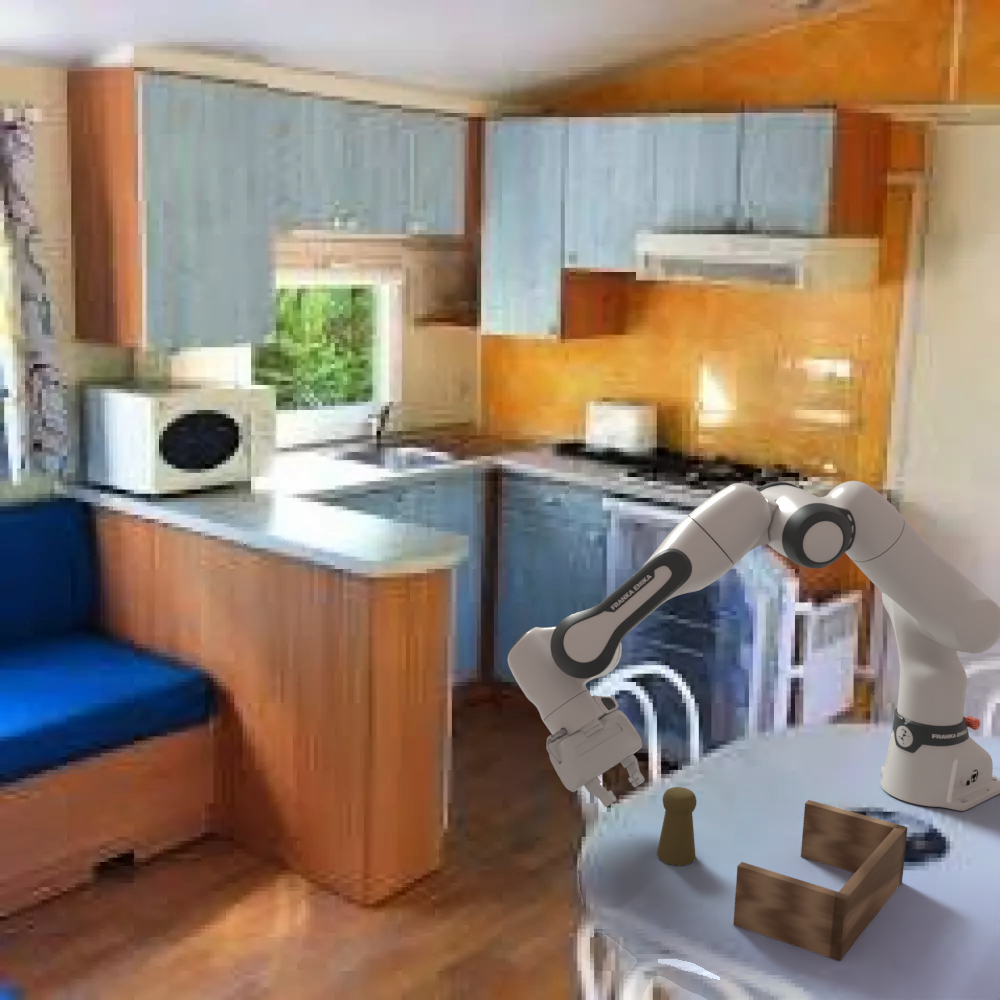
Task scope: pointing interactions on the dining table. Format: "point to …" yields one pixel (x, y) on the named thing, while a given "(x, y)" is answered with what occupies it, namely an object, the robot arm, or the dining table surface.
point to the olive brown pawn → (677, 827)
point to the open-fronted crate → (814, 909)
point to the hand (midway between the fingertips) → (626, 793)
